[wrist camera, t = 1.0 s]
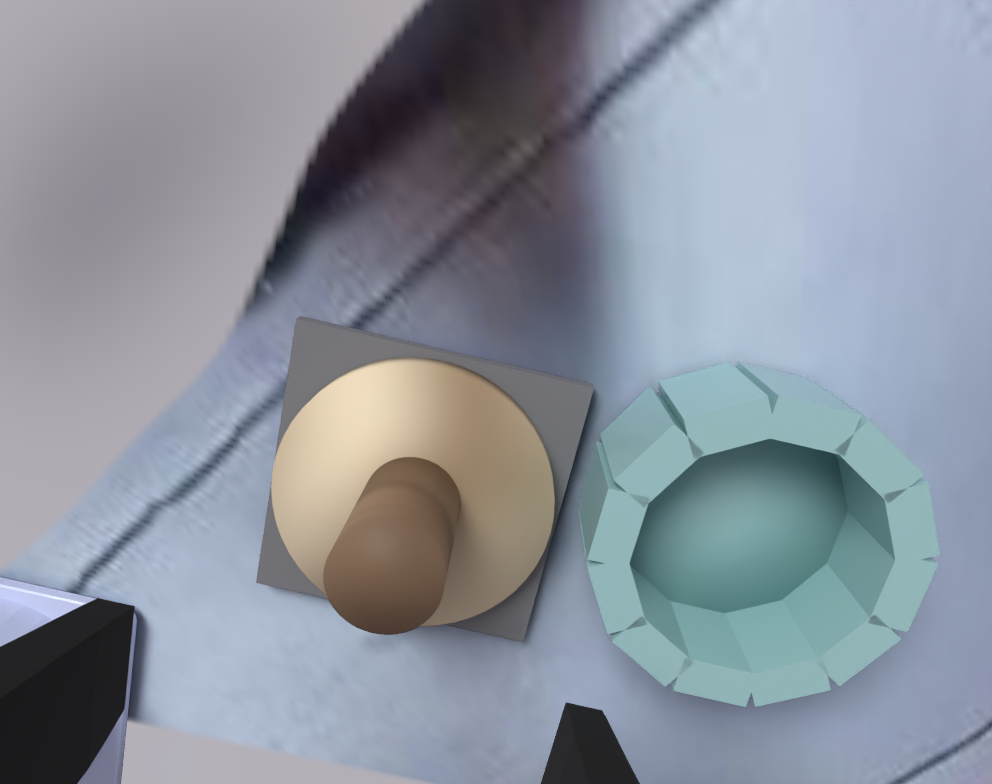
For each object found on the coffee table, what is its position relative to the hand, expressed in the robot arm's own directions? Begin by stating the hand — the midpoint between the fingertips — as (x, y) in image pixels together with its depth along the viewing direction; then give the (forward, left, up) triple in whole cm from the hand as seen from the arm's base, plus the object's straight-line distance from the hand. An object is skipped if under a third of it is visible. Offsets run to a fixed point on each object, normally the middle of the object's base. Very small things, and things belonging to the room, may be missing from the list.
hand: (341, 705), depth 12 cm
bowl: (+8, +1, -9) cm, 12 cm away
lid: (0, 0, -9) cm, 9 cm away
